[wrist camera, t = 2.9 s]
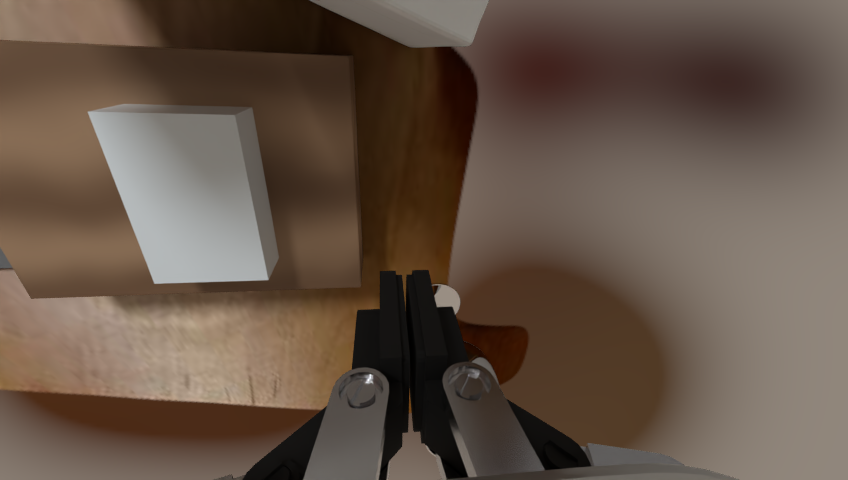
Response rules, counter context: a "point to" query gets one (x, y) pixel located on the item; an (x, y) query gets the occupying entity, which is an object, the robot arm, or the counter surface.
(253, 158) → the tile
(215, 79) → the brown wooden block
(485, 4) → the supplement box
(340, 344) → the counter surface
